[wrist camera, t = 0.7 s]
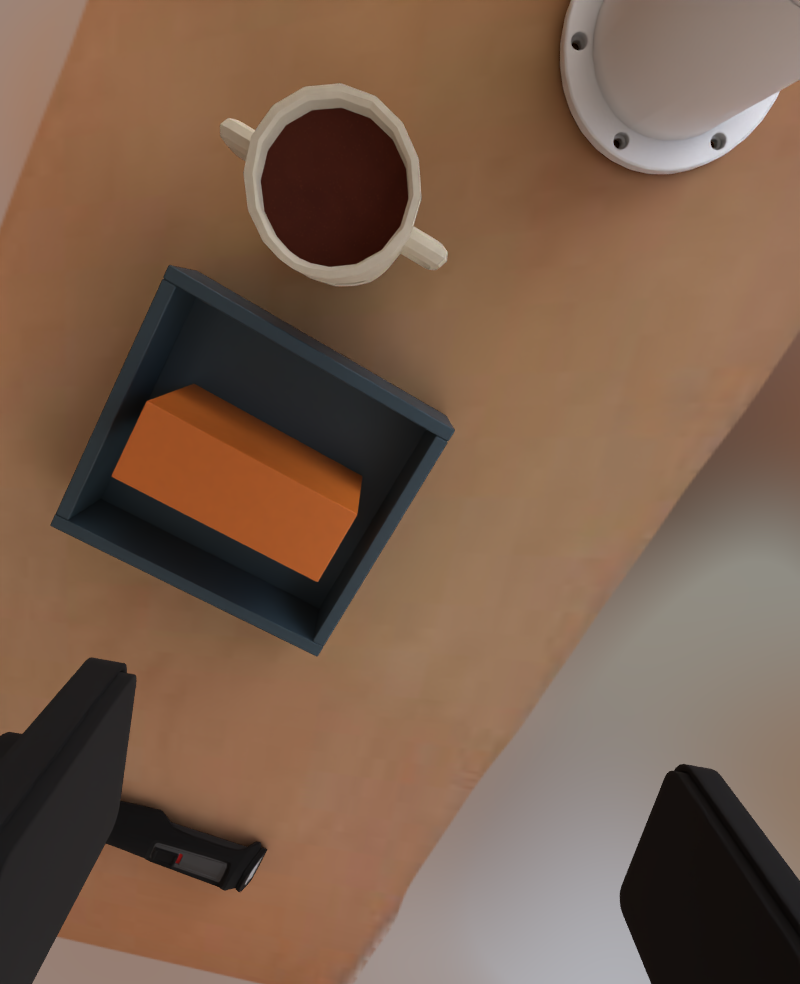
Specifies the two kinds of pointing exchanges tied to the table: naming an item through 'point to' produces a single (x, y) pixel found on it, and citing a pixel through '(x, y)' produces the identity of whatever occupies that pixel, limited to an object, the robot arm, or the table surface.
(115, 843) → the electric trimmer
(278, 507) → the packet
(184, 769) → the table surface
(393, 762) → the table surface
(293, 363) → the bin
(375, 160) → the character mug
